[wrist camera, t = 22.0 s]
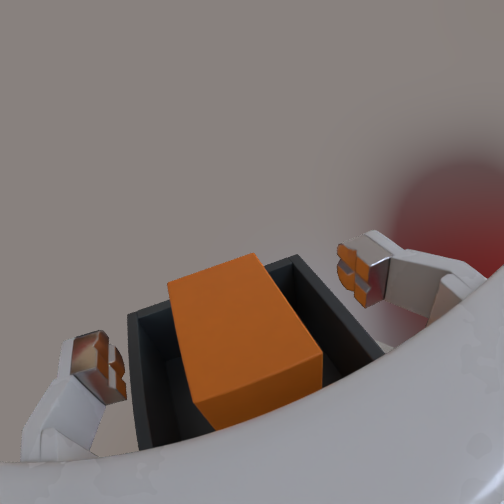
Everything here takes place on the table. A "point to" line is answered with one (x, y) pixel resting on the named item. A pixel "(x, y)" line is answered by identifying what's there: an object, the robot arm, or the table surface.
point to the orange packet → (241, 342)
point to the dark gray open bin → (172, 369)
